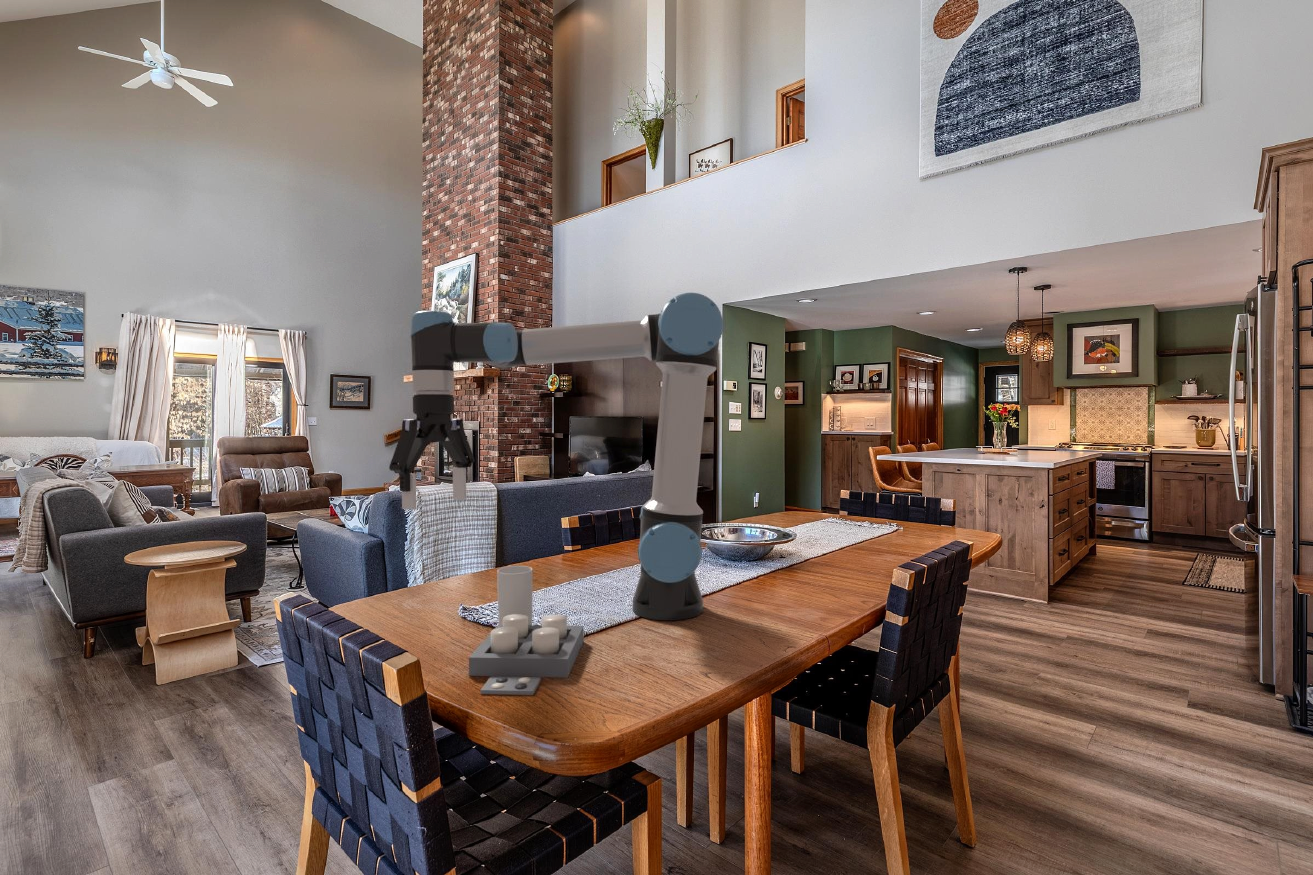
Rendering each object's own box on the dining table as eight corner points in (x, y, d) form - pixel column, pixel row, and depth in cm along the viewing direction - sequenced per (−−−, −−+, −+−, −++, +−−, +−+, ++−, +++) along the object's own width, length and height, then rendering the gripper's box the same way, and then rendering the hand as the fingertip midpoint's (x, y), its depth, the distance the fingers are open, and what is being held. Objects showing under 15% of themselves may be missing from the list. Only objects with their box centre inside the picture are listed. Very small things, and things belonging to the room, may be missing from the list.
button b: (530, 633, 116) (530, 614, 116) (524, 642, 111) (524, 621, 111) (506, 633, 116) (506, 613, 116) (499, 641, 112) (499, 621, 111)
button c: (561, 648, 108) (561, 627, 108) (556, 658, 104) (556, 636, 104) (535, 647, 109) (535, 627, 109) (529, 657, 104) (529, 636, 104)
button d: (520, 647, 109) (520, 626, 109) (513, 657, 104) (513, 635, 104) (495, 647, 109) (495, 626, 109) (487, 657, 105) (487, 635, 104)
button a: (568, 634, 115) (568, 614, 115) (564, 642, 111) (564, 622, 111) (544, 633, 116) (544, 614, 116) (539, 642, 111) (539, 622, 111)
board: (583, 641, 118) (583, 625, 118) (567, 677, 102) (567, 658, 102) (498, 640, 118) (498, 624, 118) (469, 675, 102) (468, 657, 102)
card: (540, 680, 100) (540, 676, 100) (533, 694, 95) (533, 689, 95) (490, 680, 101) (490, 675, 101) (480, 693, 96) (480, 688, 96)
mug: (537, 633, 122) (536, 571, 122) (501, 638, 119) (501, 575, 119) (524, 618, 131) (524, 560, 131) (491, 623, 129) (490, 564, 128)
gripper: (461, 395, 135) (463, 495, 135) (366, 392, 112) (368, 512, 113) (490, 395, 132) (492, 497, 133) (398, 391, 109) (401, 514, 110)
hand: (435, 504), depth 123 cm, fingers open, 13 cm apart
